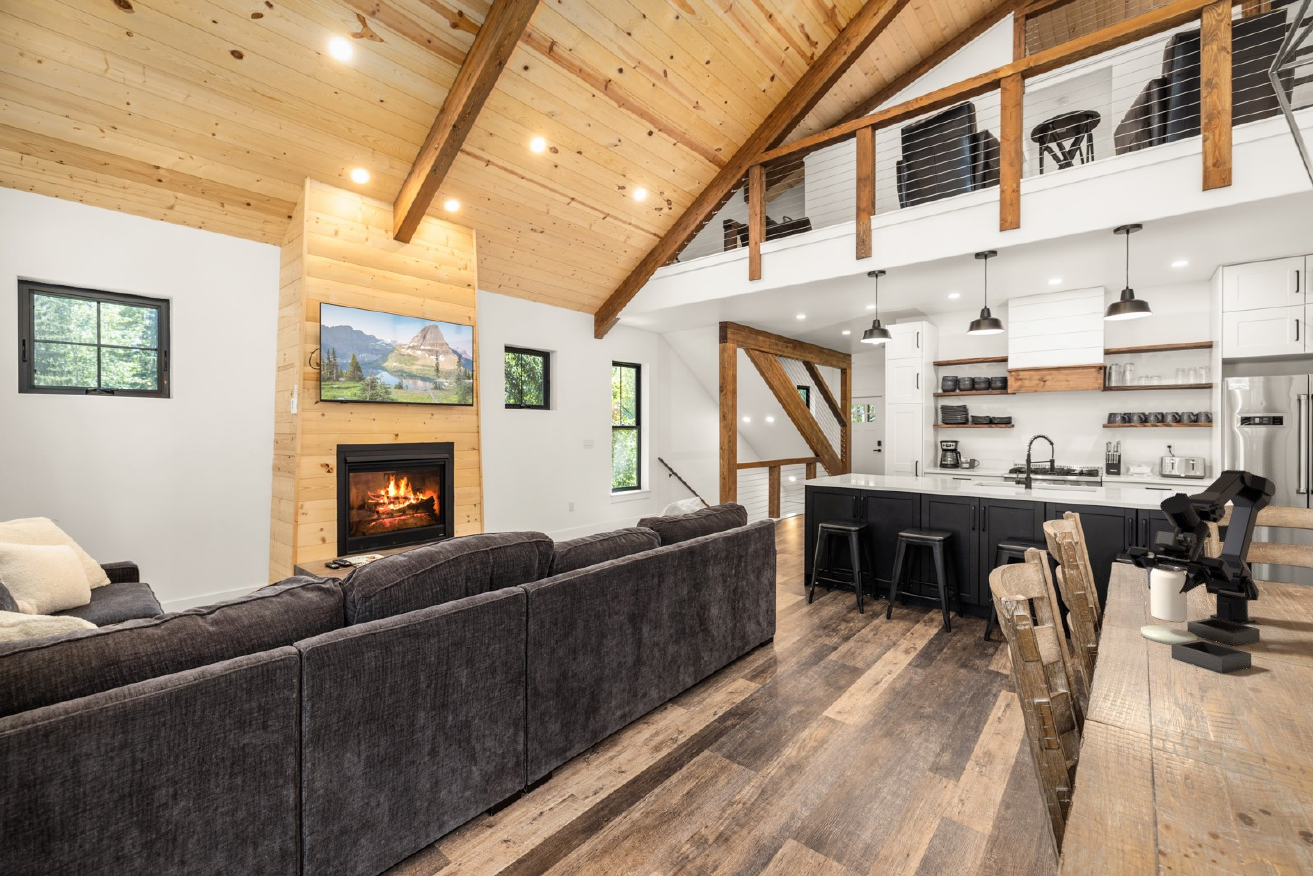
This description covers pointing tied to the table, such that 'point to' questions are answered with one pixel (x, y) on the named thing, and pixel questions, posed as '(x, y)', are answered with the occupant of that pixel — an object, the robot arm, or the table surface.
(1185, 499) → the robot arm
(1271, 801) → the table surface
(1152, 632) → the pad
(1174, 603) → the can
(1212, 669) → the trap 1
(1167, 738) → the table surface
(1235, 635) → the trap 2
